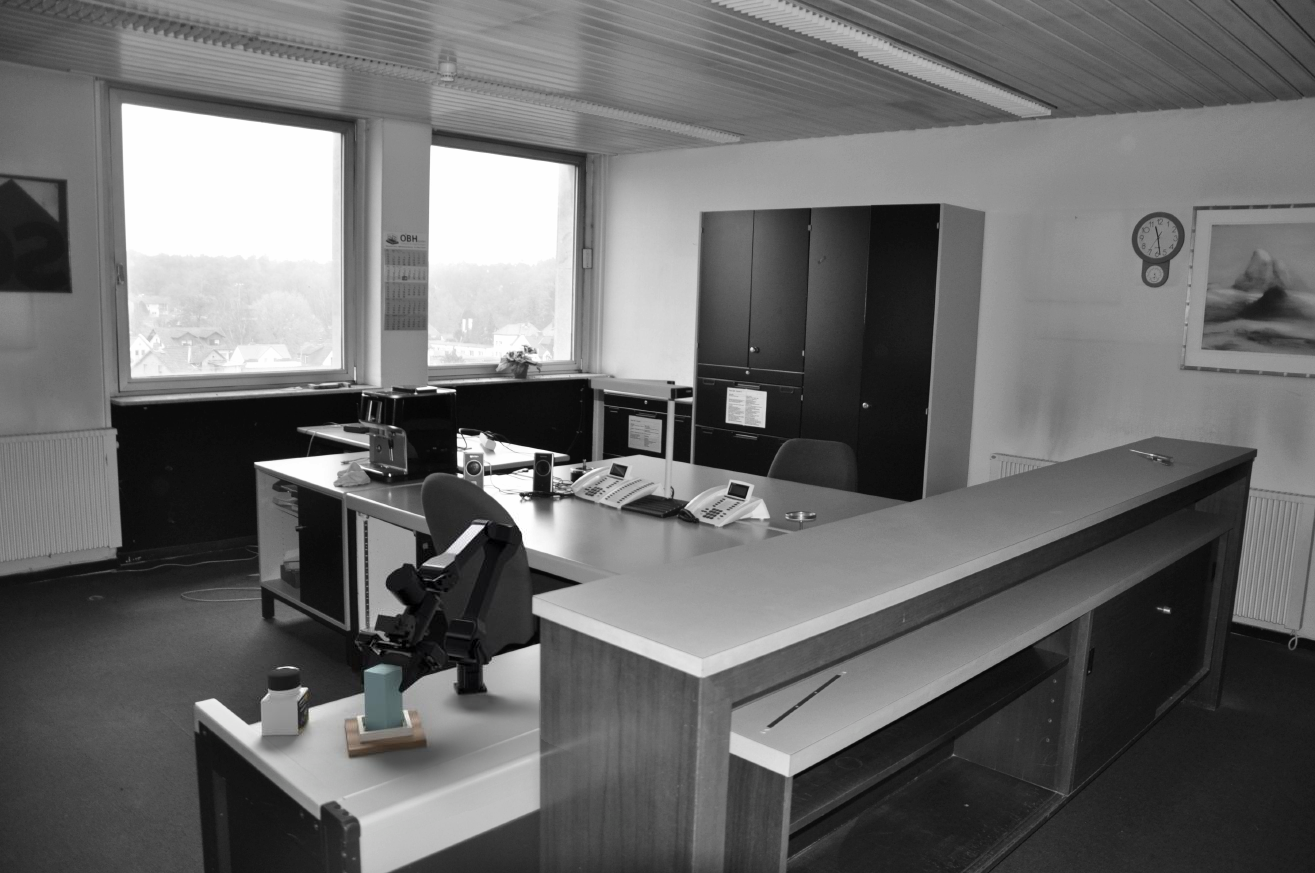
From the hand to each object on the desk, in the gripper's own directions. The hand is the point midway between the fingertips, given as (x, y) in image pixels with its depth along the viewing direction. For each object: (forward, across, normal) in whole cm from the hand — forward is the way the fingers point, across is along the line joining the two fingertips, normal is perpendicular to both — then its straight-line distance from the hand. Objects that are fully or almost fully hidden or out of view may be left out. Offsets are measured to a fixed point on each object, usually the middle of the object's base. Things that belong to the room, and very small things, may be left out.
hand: (380, 688), depth 184 cm
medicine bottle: (+10, -20, +3) cm, 23 cm away
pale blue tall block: (+5, 0, +6) cm, 8 cm away
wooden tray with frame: (+6, 0, +7) cm, 10 cm away
